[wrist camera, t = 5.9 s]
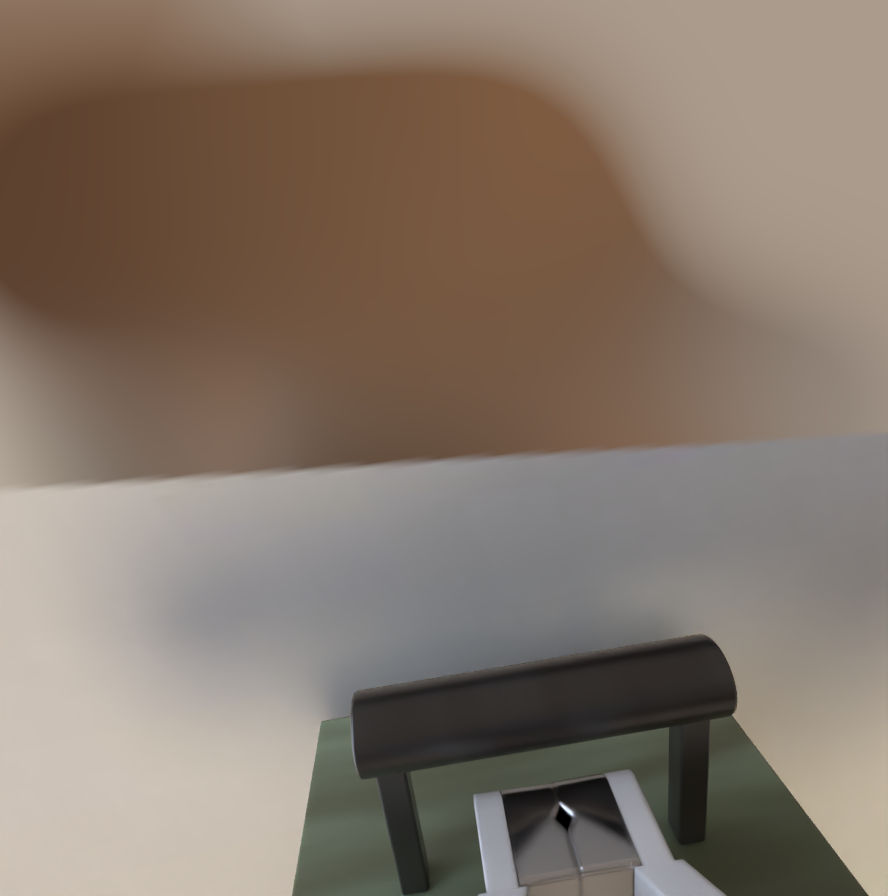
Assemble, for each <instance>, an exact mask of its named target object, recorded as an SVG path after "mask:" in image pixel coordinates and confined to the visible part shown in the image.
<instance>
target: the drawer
mask: <svg viewBox="0 0 888 896" xmlns="http://www.w3.org/2000/svg"><path fill="white" fill-rule="evenodd" d="M736 707H737V691H736V686H735V681H734V678H733V675H732V672H731V669H730V666H729V664H728V662H727V660H726V658H725V656H724V654H723V653H722V651H721V649H720V648H719V647H718V645H717V644H716V643H715V642H714V641H713V640H712V639H711V638H710V637H708V636H706V635H703V634H697V635H691V636H685V637H679V638H673V639H667V640H661V641H655V642H649V643H643V644H637V645H631V646H625V647H619V648H613V649H607V650H601V651H595V652H588V653H582V654H576V655H570V656H564V657H558V658H552V659H546V660H540V661H534V662H528V663H522V664H516V665H510V666H504V667H498V668H492V669H486V670H480V671H474V672H468V673H462V674H455V675H449V676H443V677H437V678H431V679H425V680H419V681H413V682H407V683H401V684H395V685H389V686H383V687H377V688H371V689H365V690H359V691H356V692H355V693H354V695H353V698H352V703H351V716H350V717H344V718H338V719H332V720H326V721H322V722H321V726H320V732H319V738H318V744H317V750H316V756H315V762H314V768H313V774H312V780H311V786H310V792H309V798H308V804H307V810H306V816H305V822H304V828H303V834H302V839H301V845H300V851H299V857H298V863H297V869H296V875H295V881H294V887H293V893H292V896H478V894H482V893H486V887H485V880H484V873H483V866H482V858H481V851H480V844H479V837H478V830H477V822H476V815H475V808H474V797H473V796H474V794H480V793H486V792H492V791H498V790H500V791H501V790H506V789H514V788H521V787H528V786H535V785H543V784H550V783H551V782H554V781H560V780H565V779H571V778H576V777H582V776H587V775H593V774H598V773H602V774H604V773H609V772H615V771H620V770H625V769H630V770H631V771H632V772H633V773H634V774H635V777H636V779H637V781H638V783H639V785H640V787H641V789H642V791H643V794H644V796H645V798H646V800H647V802H648V804H649V806H650V808H651V811H652V813H653V815H654V817H655V819H656V821H657V823H658V825H659V828H660V830H661V832H662V834H663V836H664V838H665V840H666V842H667V845H668V847H669V849H670V851H671V853H672V855H673V857H674V859H675V860H680V859H684V860H685V861H686V862H687V863H688V864H690V865H691V866H692V867H693V868H694V869H696V870H697V871H698V872H699V873H700V874H702V875H703V876H704V877H705V878H706V879H707V880H709V881H710V882H711V883H712V884H713V885H715V886H716V887H717V888H718V889H719V890H721V891H722V892H723V893H724V894H725V895H727V896H868V894H867V893H866V892H865V890H864V889H863V888H862V887H861V885H860V884H859V883H858V881H857V880H856V879H855V877H854V876H853V875H852V873H851V872H850V871H849V869H848V868H847V867H846V865H845V864H844V863H843V861H842V860H841V859H840V857H839V856H838V855H837V853H836V852H835V851H834V850H833V848H832V847H831V846H830V844H829V843H828V842H827V840H826V839H825V838H824V836H823V835H822V834H821V832H820V831H819V830H818V828H817V827H816V826H815V824H814V823H813V822H812V820H811V819H810V818H809V816H808V815H807V814H806V813H805V811H804V810H803V809H802V807H801V806H800V805H799V803H798V802H797V801H796V799H795V798H794V797H793V795H792V794H791V793H790V791H789V790H788V789H787V787H786V786H785V785H784V783H783V782H782V781H781V780H780V778H779V777H778V776H777V774H776V773H775V772H774V770H773V769H772V768H771V766H770V765H769V764H768V762H767V761H766V760H765V758H764V757H763V756H762V754H761V753H760V752H759V750H758V749H757V748H756V746H755V745H754V744H753V743H752V741H751V740H750V739H749V737H748V736H747V735H746V733H745V732H744V731H743V729H742V728H741V727H740V725H739V724H738V723H737V721H736V720H735V719H734V717H733V716H732V714H734V712H735V710H736Z"/></svg>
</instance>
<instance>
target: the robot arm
mask: <svg viewBox="0 0 888 896" xmlns="http://www.w3.org/2000/svg"><path fill="white" fill-rule="evenodd" d="M473 797H474V808H475V815H476V822H477V830H478V837H479V844H480V851H481V858H482V866H483V873H484V880H485V887H486V893H482V894H478V896H727V895H725V894H724V893H723V892H722V891H721V890H719V889H718V888H717V887H716V886H715V885H713V884H712V883H711V882H710V881H709V880H707V879H706V878H705V877H704V876H703V875H702V874H700V873H699V872H698V871H697V870H696V869H694V868H693V867H692V866H691V865H690V864H688V863H687V862H686V861H685V860H684V859H680V860H675V859H674V857H673V855H672V853H671V851H670V849H669V847H668V845H667V842H666V840H665V838H664V836H663V834H662V832H661V830H660V828H659V825H658V823H657V821H656V819H655V817H654V815H653V813H652V811H651V808H650V806H649V804H648V802H647V800H646V798H645V796H644V794H643V791H642V789H641V787H640V785H639V783H638V781H637V779H636V777H635V774H634V773H633V772H632V771H631V770H630V769H625V770H620V771H615V772H609V773H604V774H602V773H598V774H593V775H587V776H582V777H576V778H571V779H565V780H560V781H554V782H551V783H550V784H543V785H535V786H528V787H521V788H514V789H506V790H501V791H500V790H498V791H492V792H486V793H480V794H474V796H473Z"/></svg>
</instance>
